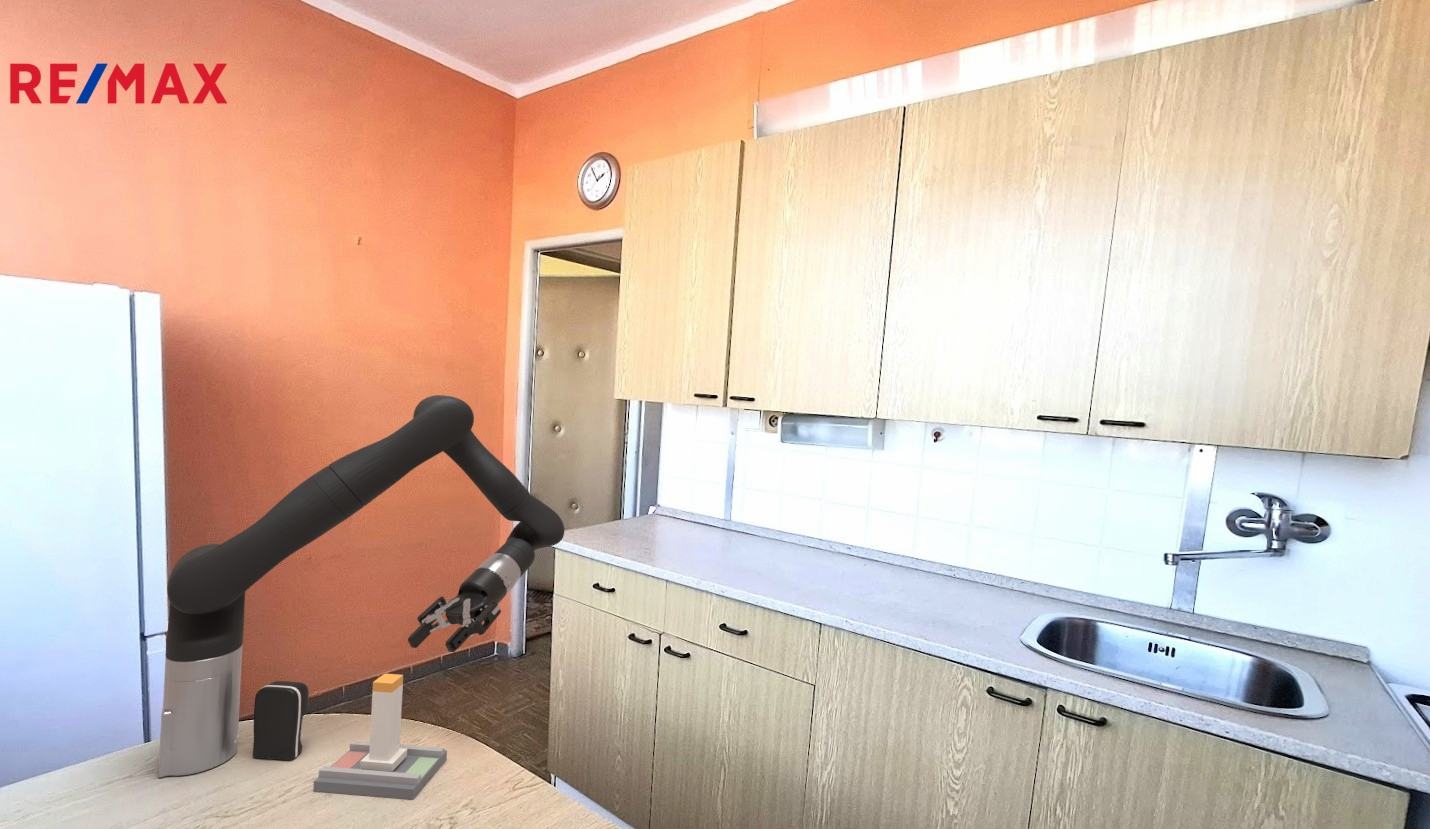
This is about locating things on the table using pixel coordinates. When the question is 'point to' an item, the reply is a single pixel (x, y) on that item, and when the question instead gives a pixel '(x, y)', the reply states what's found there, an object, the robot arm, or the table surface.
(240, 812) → the table surface
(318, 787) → the switch panel
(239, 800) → the table surface
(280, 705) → the battery charger
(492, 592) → the robot arm
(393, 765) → the switch handle
